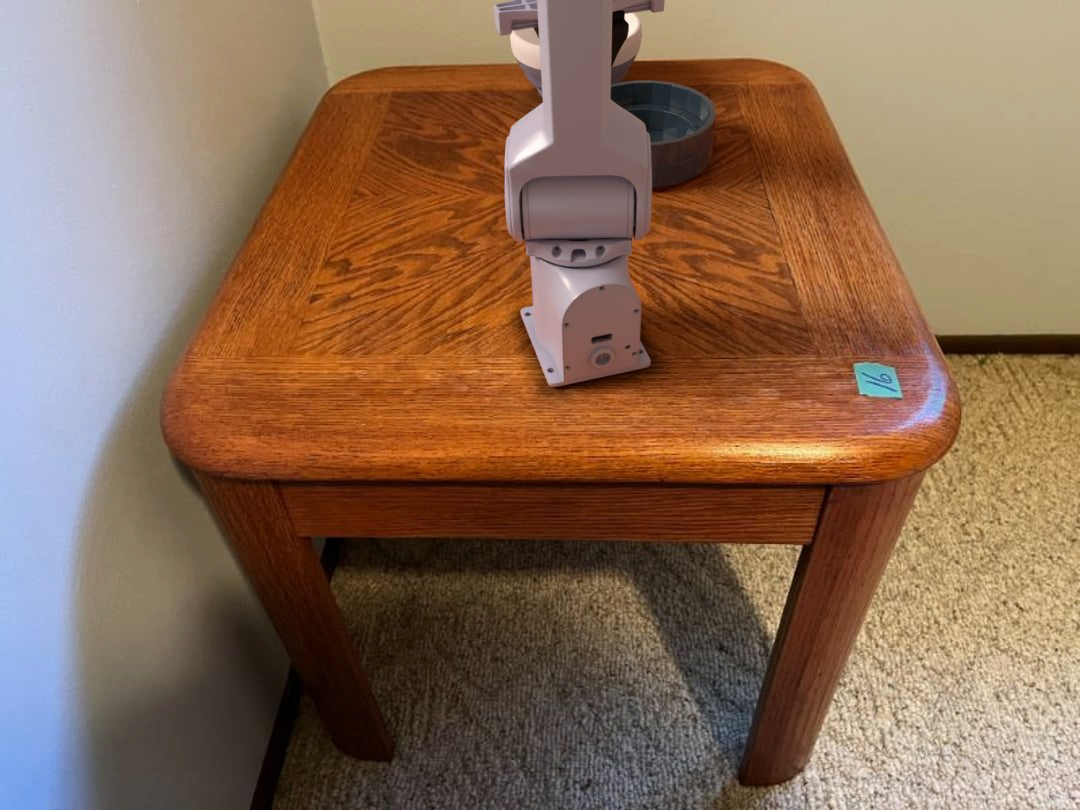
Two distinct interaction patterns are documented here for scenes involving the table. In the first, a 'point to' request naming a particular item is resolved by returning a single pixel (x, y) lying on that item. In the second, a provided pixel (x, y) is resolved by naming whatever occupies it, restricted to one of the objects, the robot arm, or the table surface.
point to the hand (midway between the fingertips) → (580, 101)
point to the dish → (671, 126)
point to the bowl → (529, 52)
